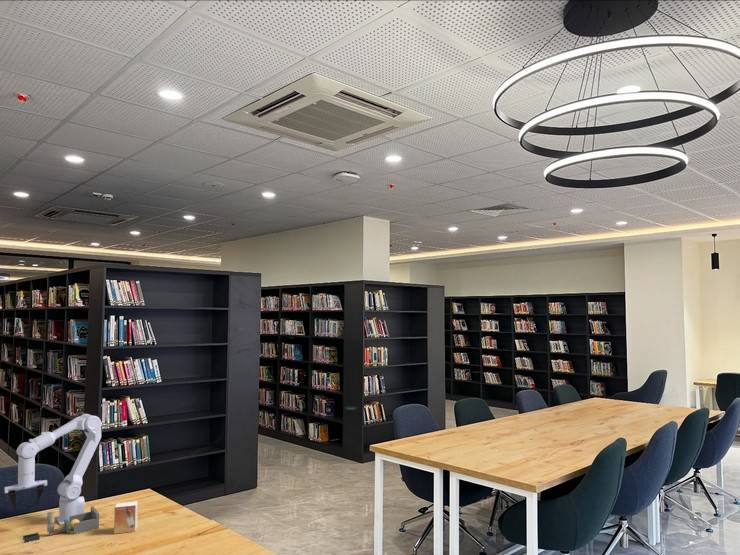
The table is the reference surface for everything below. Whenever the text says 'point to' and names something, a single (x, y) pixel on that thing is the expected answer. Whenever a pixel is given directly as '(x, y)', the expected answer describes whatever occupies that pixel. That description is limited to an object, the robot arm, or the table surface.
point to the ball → (73, 523)
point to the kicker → (51, 525)
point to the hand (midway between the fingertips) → (25, 507)
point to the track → (31, 537)
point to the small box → (125, 517)
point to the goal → (86, 521)
